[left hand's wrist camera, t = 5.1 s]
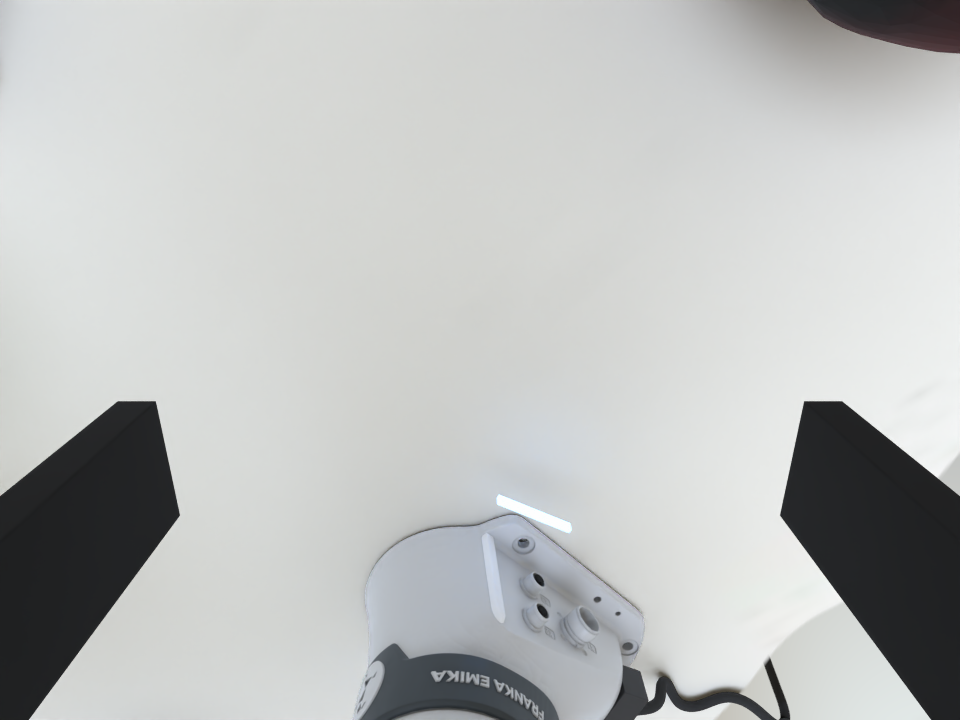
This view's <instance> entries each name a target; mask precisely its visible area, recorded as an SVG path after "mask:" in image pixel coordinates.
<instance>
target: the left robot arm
mask: <svg viewBox="0 0 960 720" xmlns="http://www.w3.org/2000/svg"><path fill="white" fill-rule="evenodd" d="M179 516H180V514H179V509H178V504H177V499H176V495H175V490H174V485H173V481H172V476H171V471H170V466H169V462H168V457H167V452H166V448H165V443H164V438H163V433H162V429H161V424H160V419H159V415H158V410H157V405H156V401H118V402H117V403H115V404H114V405H113V406H112V407H110V408H109V409H108V410H107V411H105V412H104V413H103V414H102V415H100V416H99V417H98V418H97V419H95V420H94V421H93V422H92V423H90V424H89V425H88V426H87V427H85V428H84V429H83V430H82V431H81V432H79V433H78V434H77V435H76V436H74V437H73V438H72V439H71V440H69V441H68V442H67V443H66V444H64V445H63V446H62V447H61V448H59V449H58V450H57V451H56V452H54V453H53V454H52V455H51V456H49V457H48V458H47V459H46V460H45V461H43V462H42V463H41V464H40V465H38V466H37V467H36V468H35V469H33V470H32V471H31V472H30V473H28V474H27V475H26V476H25V477H23V478H22V479H21V480H20V481H18V482H17V483H16V484H15V485H13V486H12V487H11V488H10V489H9V490H7V491H6V492H5V493H4V494H2V495H1V496H0V720H29V719H30V717H31V716H32V715H33V713H34V712H35V711H36V709H37V708H38V707H39V705H40V704H41V703H42V701H43V700H44V698H45V697H46V696H47V694H48V693H49V692H50V690H51V689H52V688H53V686H54V685H55V684H56V682H57V681H58V680H59V678H60V677H61V675H62V674H63V673H64V671H65V670H66V669H67V667H68V666H69V665H70V663H71V662H72V661H73V659H74V658H75V657H76V655H77V654H78V653H79V651H80V650H81V648H82V647H83V646H84V644H85V643H86V642H87V640H88V639H89V638H90V636H91V635H92V634H93V632H94V631H95V630H96V628H97V627H98V625H99V624H100V623H101V621H102V620H103V619H104V617H105V616H106V615H107V613H108V612H109V611H110V609H111V608H112V607H113V605H114V604H115V602H116V601H117V600H118V598H119V597H120V596H121V594H122V593H123V592H124V590H125V589H126V588H127V586H128V585H129V584H130V582H131V581H132V579H133V578H134V577H135V575H136V574H137V573H138V571H139V570H140V569H141V567H142V566H143V565H144V563H145V562H146V561H147V559H148V558H149V557H150V555H151V554H152V552H153V551H154V550H155V548H156V547H157V546H158V544H159V543H160V542H161V540H162V539H163V538H164V536H165V535H166V534H167V532H168V531H169V529H170V528H171V527H172V525H173V524H174V523H175V521H176V520H177V519H178V517H179ZM780 516H781V517H782V519H783V520H784V521H785V523H786V524H787V525H788V527H789V528H790V529H791V531H792V532H793V534H794V535H795V536H796V538H797V539H798V540H799V542H800V543H801V544H802V546H803V547H804V548H805V550H806V551H807V552H808V554H809V555H810V557H811V558H812V559H813V561H814V562H815V563H816V565H817V566H818V567H819V569H820V570H821V571H822V573H823V574H824V575H825V577H826V578H827V579H828V581H829V582H830V584H831V585H832V586H833V588H834V589H835V590H836V592H837V593H838V594H839V596H840V597H841V598H842V600H843V601H844V602H845V604H846V605H847V607H848V608H849V609H850V611H851V612H852V613H853V615H854V616H855V617H856V619H857V620H858V621H859V623H860V624H861V625H862V627H863V628H864V630H865V631H866V632H867V634H868V635H869V636H870V638H871V639H872V640H873V642H874V643H875V644H876V646H877V647H878V648H879V650H880V651H881V652H882V654H883V655H884V657H885V658H886V659H887V661H888V662H889V663H890V665H891V666H892V667H893V669H894V670H895V671H896V673H897V674H898V675H899V677H900V678H901V680H902V681H903V682H904V684H905V685H906V686H907V688H908V689H909V690H910V692H911V693H912V694H913V696H914V697H915V698H916V700H917V701H918V703H919V704H920V705H921V707H922V708H923V709H924V711H925V712H926V713H927V715H928V716H929V717H930V719H931V720H960V496H959V495H958V494H956V493H955V492H954V491H953V490H951V489H950V488H949V487H948V486H946V485H945V484H944V483H943V482H941V481H940V480H939V479H938V478H937V477H935V476H934V475H933V474H932V473H930V472H929V471H928V470H927V469H925V468H924V467H923V466H922V465H920V464H919V463H918V462H917V461H915V460H914V459H913V458H912V457H911V456H909V455H908V454H907V453H906V452H904V451H903V450H902V449H901V448H899V447H898V446H897V445H896V444H894V443H893V442H892V441H891V440H889V439H888V438H887V437H886V436H884V435H883V434H882V433H881V432H879V431H878V430H877V429H876V428H875V427H873V426H872V425H871V424H870V423H868V422H867V421H866V420H865V419H863V418H862V417H861V416H860V415H858V414H857V413H856V412H855V411H853V410H852V409H851V408H850V407H848V406H847V405H846V404H845V403H843V402H842V401H804V405H803V410H802V415H801V419H800V424H799V429H798V433H797V438H796V443H795V448H794V452H793V457H792V462H791V466H790V471H789V476H788V481H787V485H786V490H785V495H784V499H783V504H782V509H781V514H780Z"/></svg>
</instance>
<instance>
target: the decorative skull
mask: <svg viewBox="0 0 960 720" xmlns="http://www.w3.org/2000/svg"><path fill="white" fill-rule="evenodd" d="M808 2H809V3H810V4H811V5H812V6H813V7H814V8H815V9H816V10H817V11H818V12H819V13H820V14H821V15H822V16H823V17H824V18H826V19H828V20H829V21H831V22H833V23H835V24H837V25H838V26H840V27H842V28H845V29H847V30H850V31H853V32H855V33H858V34H861V35H865V36H868V37H872V38H876V39H879V40H883V41H887V42H891V43H895V44H899V45H903V46H907V47H913V48H918V49H924V50H929V51H935V52H946V53H960V0H808Z"/></svg>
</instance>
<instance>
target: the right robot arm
mask: <svg viewBox="0 0 960 720" xmlns="http://www.w3.org/2000/svg"><path fill="white" fill-rule="evenodd" d="M497 504H498V505H500V506H503V507H505V508H508V509H510V510H513V511H515V512H518V513H520V514H523V515H525V516H528V517H530V518H533V519H535V520H538V521H540V522H543V523H545V524H548V525H550V526H553V527H555V528H558V529H560V530H563V531H565V532H568V533H570V531H571V525H570V523H568V522H566V521H563V520H561V519H558V518H556V517H553V516H551V515H549V514H546V513H544V512H541V511H539V510H536V509H534V508H531V507H529V506H526V505H524V504H521V503H519V502H516V501H514V500H511V499H509V498H506V497H504V496H501V495H498V497H497ZM520 539H527V541H525V542H520V541H519V540H520ZM365 606H366V611H367V616H368V625H369V656H368V670H367V671H366V674H365V676H364V678H363V681H362V684H361V687H360V690H359V694H358V697H357V701H356V706H355V710H354V715H353V720H634V719H635V718H636V716H638V715H646V714H651V713H654V712H656V711H658V710H659V709H660V708H661V707H662V706H663V704H664V702H665V698H666V692H667V694H668V696H669V698H670V700H671V701H672V703H673V704H674V705H675V706H676V707H677V708H679V709H680V710H683V711H687V712H696V711H701V710H704V709H707V708H710V707H712V706H715V705H718V704H721V703H727V702H730V703H736V704H739V705H742V706H744V707H746V708H747V709H749V710H750V711H752V712H753V713H754V714H755V715H757V716H758V717H759V718H760V719H761V720H776V719H775V718H773V717H772V716H771V715H770V714H769V713H768V712H766V711H765V710H764V709H763V708H762V707H761V706H760V705H758V704H757V703H756V702H754V701H753V700H751V699H750V698H748V697H746V696H744V695H741V694H738V693H734V692H721V693H717V694H714V695H711V696H708V697H706V698H703V699H700V700H697V701H685V700H683V699H681V698H680V697H679V695H678V694H677V692H676V689H675V687H674V685H673V683H672V682H671V680H670V679H669V678H667V677H661V678H659V679H658V681H657V684H656V692H655V697H654V699H653V700H651V701H649V702H648V697H647V694H646V690H645V687H644V683H643V680H642V676H641V673H640V671H638V670H635V669H632V668H630V667H629V666H630V665H631V663H632V662H633V660H634V659H635V657H636V655H637V653H638V651H639V649H640V646H641V644H642V641H643V636H644V629H645V624H644V619H643V615H642V614H641V613H640V612H639V611H638V610H637V609H636V608H635V607H634V606H633V605H631V604H630V603H629V602H628V601H626V600H625V599H624V598H623V597H621V596H620V595H619V594H618V593H616V592H615V591H614V590H613V589H611V588H610V587H609V586H608V585H606V584H605V583H604V582H603V581H601V580H600V579H599V578H598V577H596V576H595V575H594V574H593V573H591V572H590V571H589V570H588V569H586V568H585V567H584V566H583V565H581V564H580V563H579V562H578V561H576V560H575V559H574V558H573V557H571V556H570V555H569V554H568V553H566V552H565V551H564V550H563V549H561V548H560V547H559V546H558V545H556V544H555V543H554V542H553V541H551V540H550V539H549V538H548V537H546V536H545V535H544V534H543V533H541V532H540V531H539V530H538V529H536V528H535V527H534V526H533V525H531V524H530V523H529V522H528V521H526V520H525V519H524V518H522V517H520V516H517V515H506V516H502V517H499V518H496V519H493V520H490V521H488V522H485V523H483V524H480V525H476V526H467V527H444V528H437V529H432V530H427V531H424V532H421V533H418V534H415V535H413V536H410V537H408V538H406V539H404V540H402V541H401V542H399V543H397V544H396V545H395V546H393V547H392V548H391V549H389V550H388V551H387V552H386V553H385V554H384V555H383V556H382V557H381V558H380V559H379V561H378V562H377V563H376V565H375V566H374V568H373V570H372V571H371V573H370V576H369V578H368V581H367V585H366V590H365ZM628 642H629V643H628ZM764 667H765V669H766V672H767V675H768V678H769V680H770V683H771V686H772V689H773V692H774V694H775V697H776V700H777V703H778V706H779V710H780V719H779V720H790V711H789V708H788V704H787V701H786V698H785V696H784V693H783V690H782V688H781V685H780V683H779V680H778V677H777V675H776V672H775V669H774V667H773V664H772V661H771V659H770V657H769V658H768V659H767V660H766V662H765V663H764Z"/></svg>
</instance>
